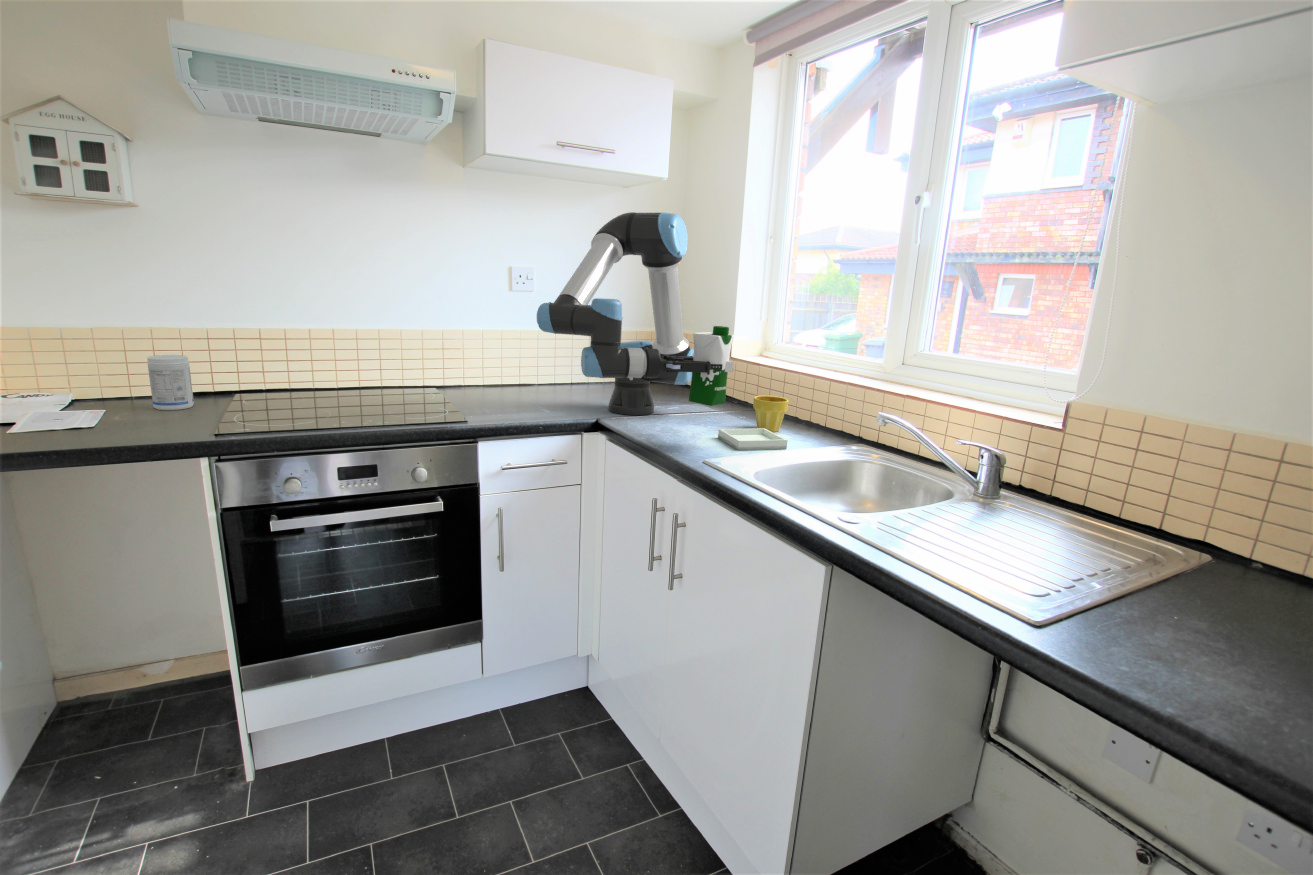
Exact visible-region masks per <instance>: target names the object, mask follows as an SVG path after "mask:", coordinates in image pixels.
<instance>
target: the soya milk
mask: <svg viewBox="0 0 1313 875" xmlns="http://www.w3.org/2000/svg"><path fill="white" fill-rule="evenodd" d="M729 332H730V327H729V326H724V325H723V326H722V325H721V326H720V325H713V327H712V332H709V331H707V332H706V331H705V332H693V333H692V336H693V337H692V338H693V349H694V356H693V361H705V362H707V361H709V362H710V364H723V365H722V370H710V374H709V375H707V373H704V372H692V379H691V381H690V388H689V396H688V402H691V403H697V404H700V405H703V406H704V405H705V406H708V407H713V406H717V405H721V404H725V403H726V397H727V382H728V375H729V374H728V373H729V372H725V366H726V361H730V352H731V348H732V344H733V341H734V337H735V336H734V334H730V333H729ZM713 368H714V366H713ZM716 368H717V366H716ZM719 368H720V366H719Z"/></svg>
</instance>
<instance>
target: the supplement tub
mask: <svg viewBox="0 0 1313 875" xmlns="http://www.w3.org/2000/svg"><path fill="white" fill-rule="evenodd" d="M146 359H147V369H148V370H147V371H148V377H149V384H150V385H149V386H150V391H151V399H152V406H153V408H154V409H155V410H160V411H177V410H179V411H180V410H181V411H182V410H186V409H190V408H192V407H193V406H194V404H195V403H194V402H195V401H194V400H195V399H194V393H193V384H192V376H191V369H190V368H191V367H190V360H189V356H187V355H183V354H160V355H159V354H158V355H151V356H148V357H147V358H146Z"/></svg>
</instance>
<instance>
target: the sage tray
mask: <svg viewBox="0 0 1313 875" xmlns="http://www.w3.org/2000/svg"><path fill="white" fill-rule="evenodd" d="M717 431H718V433H717V435H718V436H717V438H718V439H720V440H721V441H722V442H725V443H726V444H728V445H729V446H731V447H732V448H734V449H736V450H737V451H757V450H758V451H760V450H761V451H762V450H764V451H765V450H787V449H788V446H787V445H788V439H786V438H784V437H783V436H781V435H778V434H776V432H771V431H769V430H767V429H765V428H757V427H756V428H752V427H751V428H718V430H717Z"/></svg>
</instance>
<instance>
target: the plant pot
mask: <svg viewBox="0 0 1313 875" xmlns="http://www.w3.org/2000/svg"><path fill="white" fill-rule="evenodd" d="M752 406H753V410H755V411H754V412H755V419H756V428H765V429H767V430H769V431H771V432H773V433H777V432H779V431H780V430H781V429H780V428H781V425H782V422H783V420H784V417H785V413H786V412H788V408H789V399H788V398H786V397H783V396H782V397H781V396H776V395H756V396H754V397H753V403H752Z"/></svg>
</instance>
